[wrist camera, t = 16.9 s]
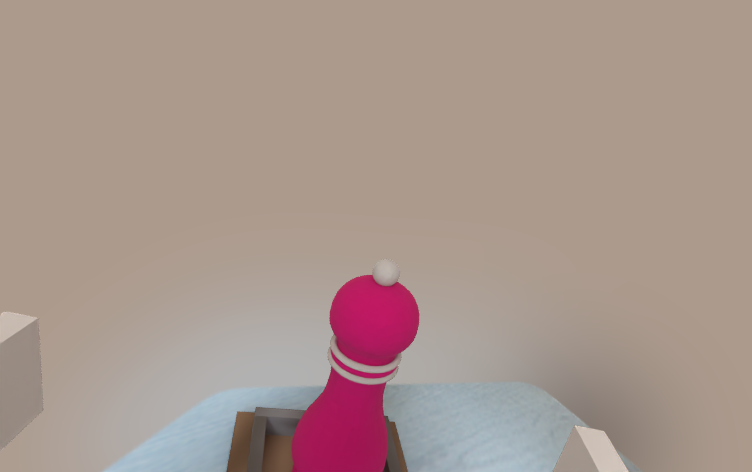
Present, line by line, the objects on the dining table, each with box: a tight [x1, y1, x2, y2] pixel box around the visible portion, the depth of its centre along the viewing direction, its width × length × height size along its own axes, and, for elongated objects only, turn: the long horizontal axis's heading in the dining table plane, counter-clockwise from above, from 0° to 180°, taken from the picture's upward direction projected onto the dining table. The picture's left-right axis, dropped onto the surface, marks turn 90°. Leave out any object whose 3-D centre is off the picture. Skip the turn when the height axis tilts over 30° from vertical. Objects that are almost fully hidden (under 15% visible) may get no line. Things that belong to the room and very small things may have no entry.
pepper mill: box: [291, 259, 419, 472], centre depth 31 cm, size 7×7×20 cm
